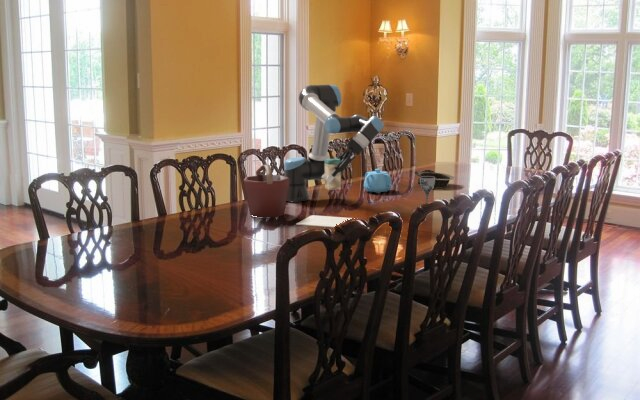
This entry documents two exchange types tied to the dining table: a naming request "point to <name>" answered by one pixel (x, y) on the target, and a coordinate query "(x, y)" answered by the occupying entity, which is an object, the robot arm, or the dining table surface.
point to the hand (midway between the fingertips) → (325, 180)
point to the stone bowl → (436, 178)
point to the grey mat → (322, 221)
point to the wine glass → (427, 184)
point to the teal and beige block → (329, 167)
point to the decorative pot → (377, 181)
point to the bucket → (266, 193)
